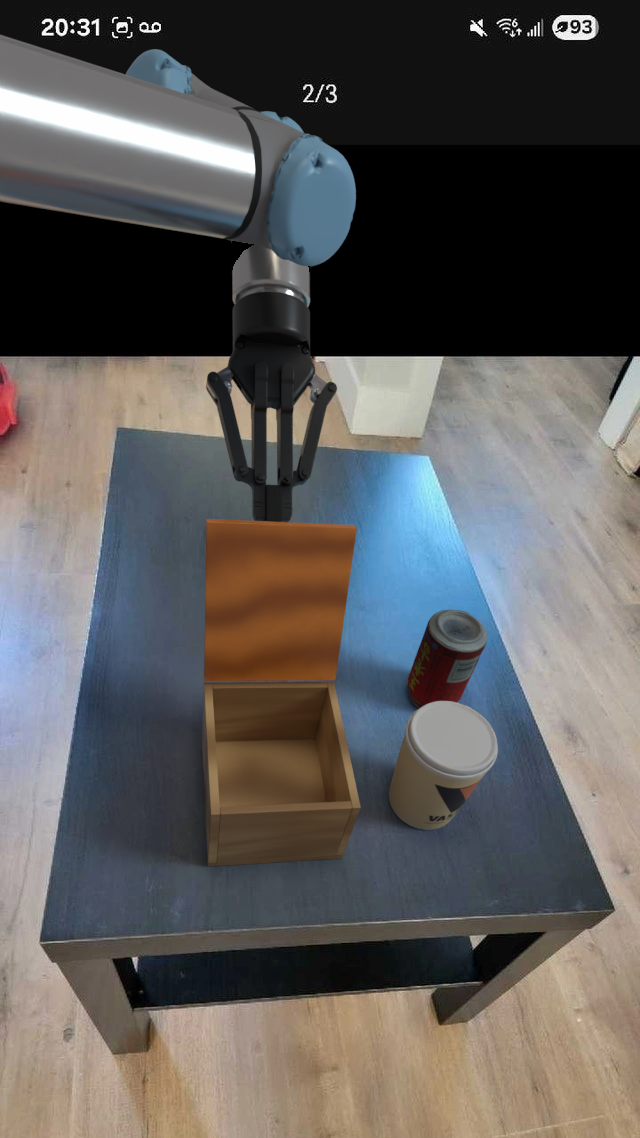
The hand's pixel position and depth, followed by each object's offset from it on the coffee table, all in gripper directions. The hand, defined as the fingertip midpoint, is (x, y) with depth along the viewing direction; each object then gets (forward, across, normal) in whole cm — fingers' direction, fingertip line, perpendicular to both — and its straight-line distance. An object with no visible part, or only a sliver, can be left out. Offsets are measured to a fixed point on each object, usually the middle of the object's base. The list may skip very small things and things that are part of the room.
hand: (272, 554), depth 68 cm
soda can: (+16, -22, -13) cm, 30 cm away
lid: (+6, 0, +3) cm, 6 cm away
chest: (+25, 0, -3) cm, 25 cm away
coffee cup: (+26, -17, -2) cm, 31 cm away
